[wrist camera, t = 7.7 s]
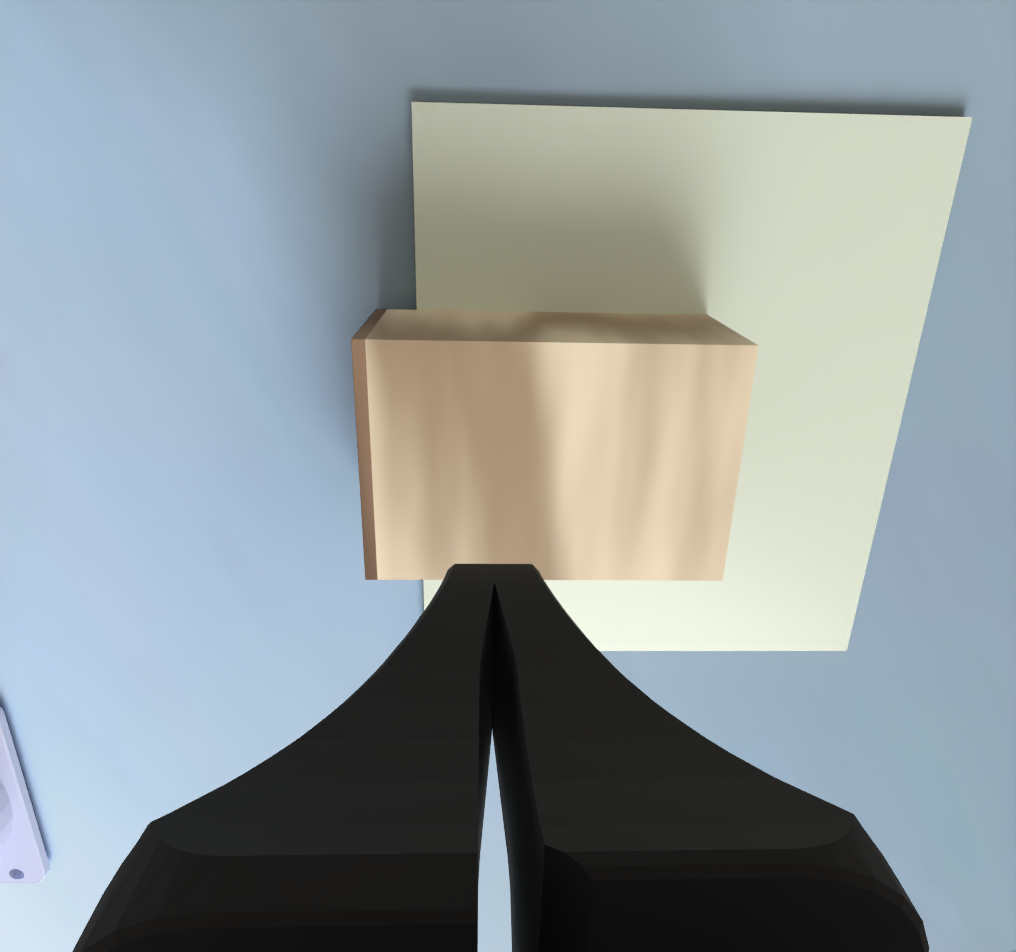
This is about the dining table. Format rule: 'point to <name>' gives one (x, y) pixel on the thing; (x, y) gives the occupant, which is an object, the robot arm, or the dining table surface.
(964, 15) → the dining table surface
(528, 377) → the birch block
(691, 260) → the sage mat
